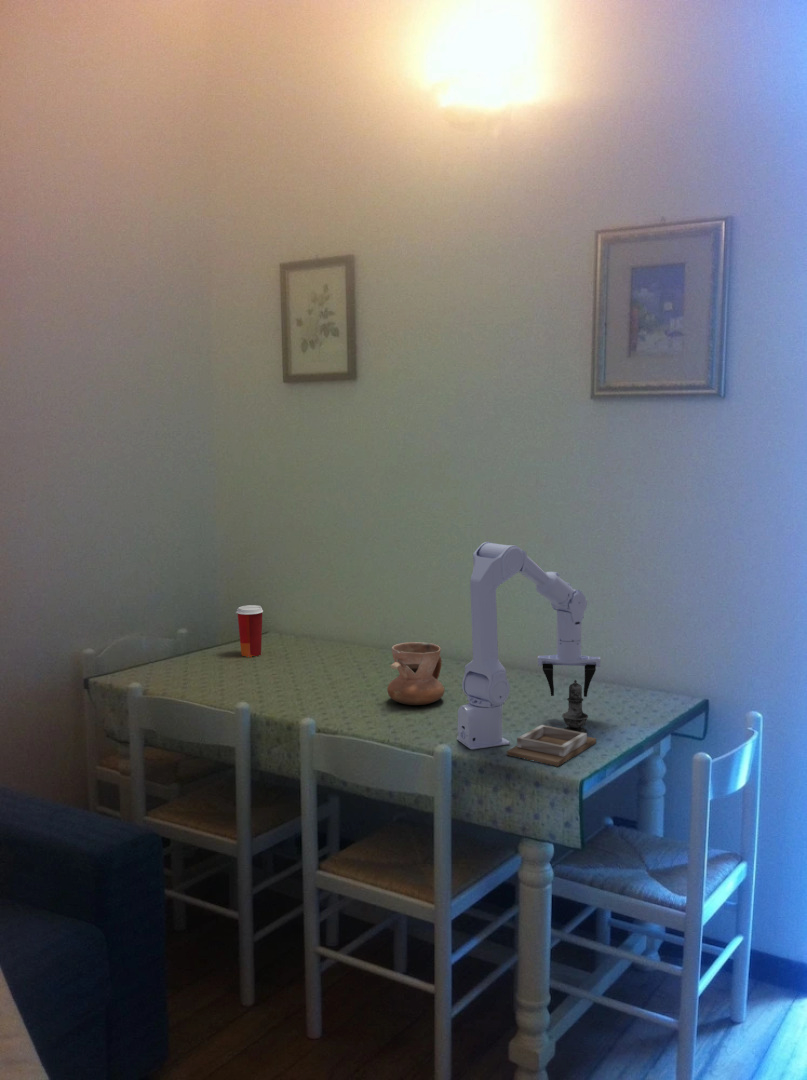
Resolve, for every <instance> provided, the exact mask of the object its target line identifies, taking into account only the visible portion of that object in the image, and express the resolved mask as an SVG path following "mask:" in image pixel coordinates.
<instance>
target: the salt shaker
mask: <svg viewBox="0 0 807 1080" xmlns="http://www.w3.org/2000/svg"><path fill="white" fill-rule="evenodd" d="M582 688H583V687H582V685H581V684H580V683H578V681H577V680H576V679H574V681H573V683H571V684H569V686H568V698H567V701H568V709H567V712H564V713H563V714H562V715H561V716H562V718H563V721H564V724H565V725H566V727H564V728H563V729H567V730H572V731H577V732H582V733H588V730H587V729H586V728H585V727H584V726H585V725H586V724H587V721H588V718H589V715H588V714H587V713H585V712H584V711H583V702H584V698H583V689H582Z"/></svg>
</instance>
